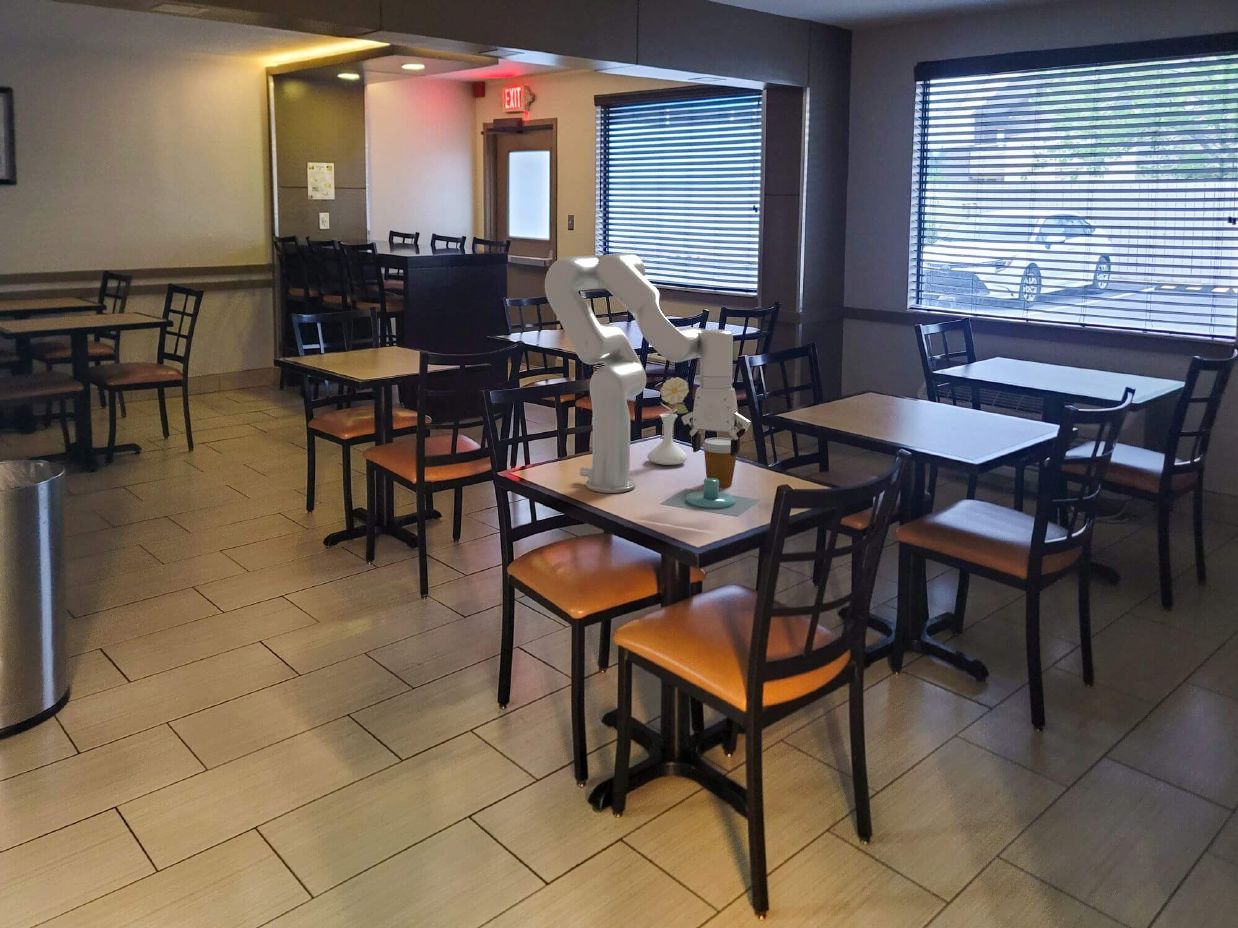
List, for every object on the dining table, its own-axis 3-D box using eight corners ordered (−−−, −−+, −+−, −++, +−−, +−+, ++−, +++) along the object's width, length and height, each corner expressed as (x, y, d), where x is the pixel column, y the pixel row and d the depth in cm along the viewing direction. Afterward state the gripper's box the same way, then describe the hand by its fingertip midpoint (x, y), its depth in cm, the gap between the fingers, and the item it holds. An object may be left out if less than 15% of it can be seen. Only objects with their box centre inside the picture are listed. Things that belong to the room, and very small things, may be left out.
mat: (659, 505, 240) (659, 503, 240) (685, 490, 254) (685, 488, 253) (737, 518, 231) (737, 516, 231) (760, 501, 245) (760, 499, 245)
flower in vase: (638, 462, 281) (640, 374, 275) (667, 456, 288) (669, 371, 282) (671, 471, 272) (674, 381, 265) (699, 465, 279) (703, 377, 273)
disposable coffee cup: (735, 492, 252) (738, 446, 250) (698, 489, 254) (700, 444, 251) (739, 482, 262) (741, 438, 259) (703, 480, 263) (704, 436, 260)
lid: (678, 504, 240) (679, 482, 238) (697, 492, 250) (698, 471, 249) (724, 511, 234) (725, 489, 233) (742, 499, 245) (743, 477, 243)
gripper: (676, 382, 235) (676, 452, 239) (745, 387, 228) (743, 459, 232) (688, 378, 242) (688, 446, 246) (756, 382, 234) (754, 453, 238)
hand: (715, 453), depth 239 cm, fingers open, 9 cm apart
